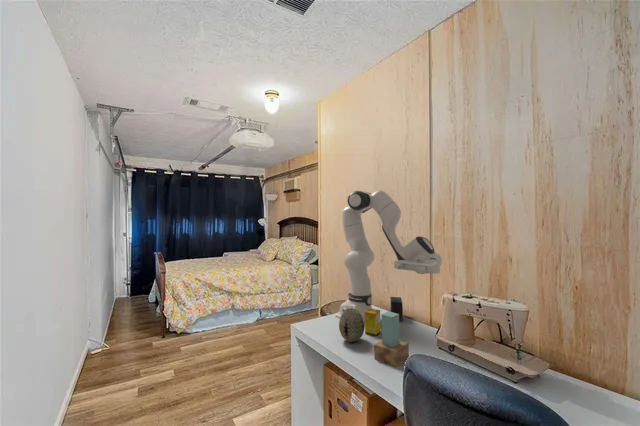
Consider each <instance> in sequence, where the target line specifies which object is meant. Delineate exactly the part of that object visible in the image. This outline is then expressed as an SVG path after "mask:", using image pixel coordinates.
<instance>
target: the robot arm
mask: <svg viewBox="0 0 640 426" xmlns="http://www.w3.org/2000/svg"><path fill="white" fill-rule="evenodd" d="M346 201H347V205H348V206H346V207H344V208H343V209H342V211H341V221H342V228H343V232H344V236H345V241H346V242H347V243H348V245H349V247H350V249H351V251H349V252H348V253H347V254H346V255H345V257H344V261H343V262H344V266H345V267H346V269H347V271H348V274H349V275H348V276H349V279H350V292H349V293H347V297H348V299H347V300H345V301H344V302H343V303H341V305H340V306H339V311H338V312H336V314H335V317H337V318H338V319H340V317H341V315H342V313H343V312H344V311H345V310H346V309H349V308H354V309H356V310H357V311H358V312H359V313H360V314H361V315H362V318H363V321H364V324H365V311H366V310H368V309H369V308H371V309H373V307H372V305H373V304H372V303H373V300H372V299H373V298H372V297H373V295H372V293H371V289H372V288H371V286H372V285H371V278H370V277H369V273H368V267H369V266H371V265H372V264H373V262H374V261H375V254H374V251H373V250H371V247H370V245H369V242H368V240H367V238H366V234H365V228H364V226H363V225H364V224H363V221H362V214H364V213H366V212H368V211H369V210H371V209H373V210H374V211H375V213H376V214H377V215H378V216H379V218H380V220H381V223H382V226H381V229H382V231H383V234H384V235H385V238H386V240H387V241H388V243H389V244H390V246H391V248H392V250H393V252H394V254H395V256H396V260H394V262H393V268H394V269H395V270H401V271H402V270H404V271H409V272H410V271H412V272H415V273H417V274H419V275H425V274H427V275H428V274H435V275H436V274H440V271H441V266H442V262H443V258H442V256H441V255H440V254H439V253H438V252H436V251H435V248H434V246H433V243H431V241H430V240H429V239H428V238H426V237H423V236H416V237H415V238H413V239H412V240H410V242H408V243H407V244H406V245H405V246H403V245H402V243H401V241H400V239H399V238H398V236H397V233H396V228H397V225H398V224H399V221H400V219H401V216H402V212H401V209H400V206H399V205H398V204H397V203H396V201H395V200H394V199H393V198H392V197H391V196H390V195H389V194H388V193H386V192H385V191H384V190H376V191H374V192H373V193H371V192H368V191H364V190H355V191H352V192H351V193H349V195H348V196H347V200H346Z"/></svg>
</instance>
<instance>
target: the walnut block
mask: <svg viewBox="0 0 640 426" xmlns="http://www.w3.org/2000/svg"><path fill="white" fill-rule="evenodd" d="M409 347H410V345H409V342H406V341H402V340H400V344H398V345H397V346H395V347H393V348H392V347H389V346H387V345H384V344H382V339H380V340H379V341H377V342H376V343H373V348H374V349H373V353H374V360H377V361H379V362H382V363H384V364H388V365H390V366H393V367H396V368H397V367H399V366H400V365H401V364H403V363H404V362H405V361H406V360H407V359H408V357H410V355H409V354H410V353H409V352H410V350H409Z"/></svg>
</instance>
